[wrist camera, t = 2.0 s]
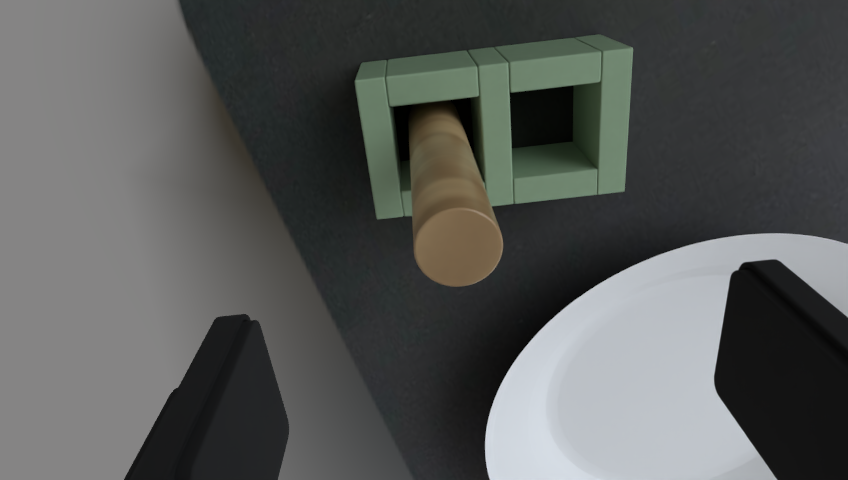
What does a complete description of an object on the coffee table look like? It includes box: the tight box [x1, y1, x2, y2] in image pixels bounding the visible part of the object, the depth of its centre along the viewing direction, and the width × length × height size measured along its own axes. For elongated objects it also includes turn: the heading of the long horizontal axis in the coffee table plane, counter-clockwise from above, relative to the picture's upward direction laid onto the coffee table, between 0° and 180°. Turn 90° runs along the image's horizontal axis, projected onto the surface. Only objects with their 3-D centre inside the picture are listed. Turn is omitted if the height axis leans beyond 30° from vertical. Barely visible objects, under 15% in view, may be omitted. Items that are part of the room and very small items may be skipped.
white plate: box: [485, 233, 848, 480], centre depth 33 cm, size 25×25×4 cm
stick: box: [408, 100, 503, 287], centre depth 21 cm, size 2×2×13 cm
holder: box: [354, 34, 633, 219], centre depth 25 cm, size 11×6×4 cm, turn 96°
